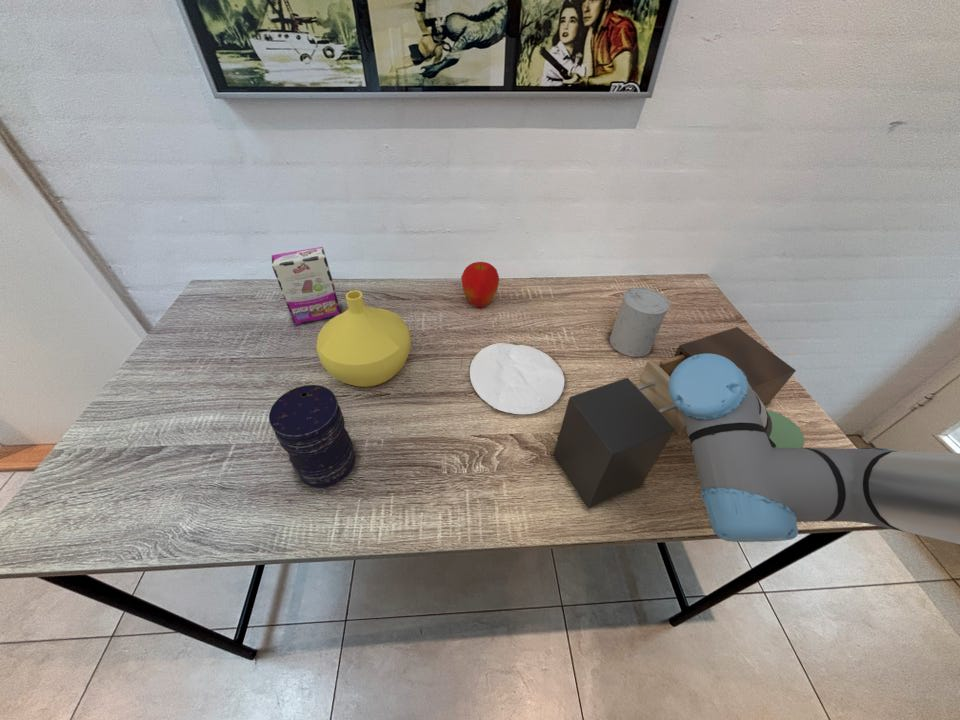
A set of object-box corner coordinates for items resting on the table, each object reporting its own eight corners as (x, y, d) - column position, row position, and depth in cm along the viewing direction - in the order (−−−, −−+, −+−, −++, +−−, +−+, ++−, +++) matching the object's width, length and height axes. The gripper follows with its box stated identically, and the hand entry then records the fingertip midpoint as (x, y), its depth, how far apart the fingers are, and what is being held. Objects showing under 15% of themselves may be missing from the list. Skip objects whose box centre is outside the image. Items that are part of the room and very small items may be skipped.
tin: (774, 481, 70) (816, 441, 62) (740, 498, 68) (780, 459, 59) (737, 444, 75) (771, 403, 67) (704, 459, 73) (736, 418, 65)
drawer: (656, 444, 74) (672, 417, 69) (614, 395, 83) (625, 368, 77) (736, 412, 80) (756, 385, 75) (689, 369, 89) (704, 342, 83)
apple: (495, 292, 109) (498, 252, 100) (499, 313, 102) (502, 272, 94) (460, 293, 108) (460, 252, 100) (462, 314, 102) (462, 273, 93)
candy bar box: (339, 304, 103) (323, 245, 92) (342, 316, 100) (326, 256, 88) (292, 313, 100) (270, 253, 89) (294, 326, 97) (271, 265, 85)
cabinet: (711, 427, 79) (735, 394, 72) (662, 378, 88) (679, 345, 81) (769, 403, 84) (796, 370, 77) (717, 359, 92) (737, 326, 86)
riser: (641, 485, 70) (675, 429, 58) (587, 508, 66) (613, 454, 55) (603, 435, 77) (627, 377, 66) (553, 454, 73) (569, 396, 62)
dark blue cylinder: (357, 482, 68) (338, 429, 58) (296, 495, 66) (264, 443, 56) (354, 434, 75) (337, 379, 65) (298, 445, 73) (271, 390, 63)
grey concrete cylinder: (642, 329, 100) (659, 286, 91) (657, 356, 93) (677, 313, 84) (604, 330, 99) (617, 287, 90) (616, 357, 92) (632, 314, 84)
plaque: (453, 361, 89) (453, 357, 88) (528, 335, 97) (529, 330, 96) (500, 431, 78) (501, 427, 76) (582, 395, 85) (583, 390, 84)
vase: (415, 339, 95) (407, 267, 81) (411, 399, 82) (401, 326, 68) (334, 341, 93) (313, 268, 80) (318, 403, 80) (288, 328, 67)
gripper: (662, 380, 63) (704, 419, 78) (769, 503, 49) (795, 521, 64) (705, 348, 60) (739, 395, 76) (830, 468, 46) (841, 496, 62)
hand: (764, 453), depth 70 cm, fingers closed on tin, 8 cm apart
